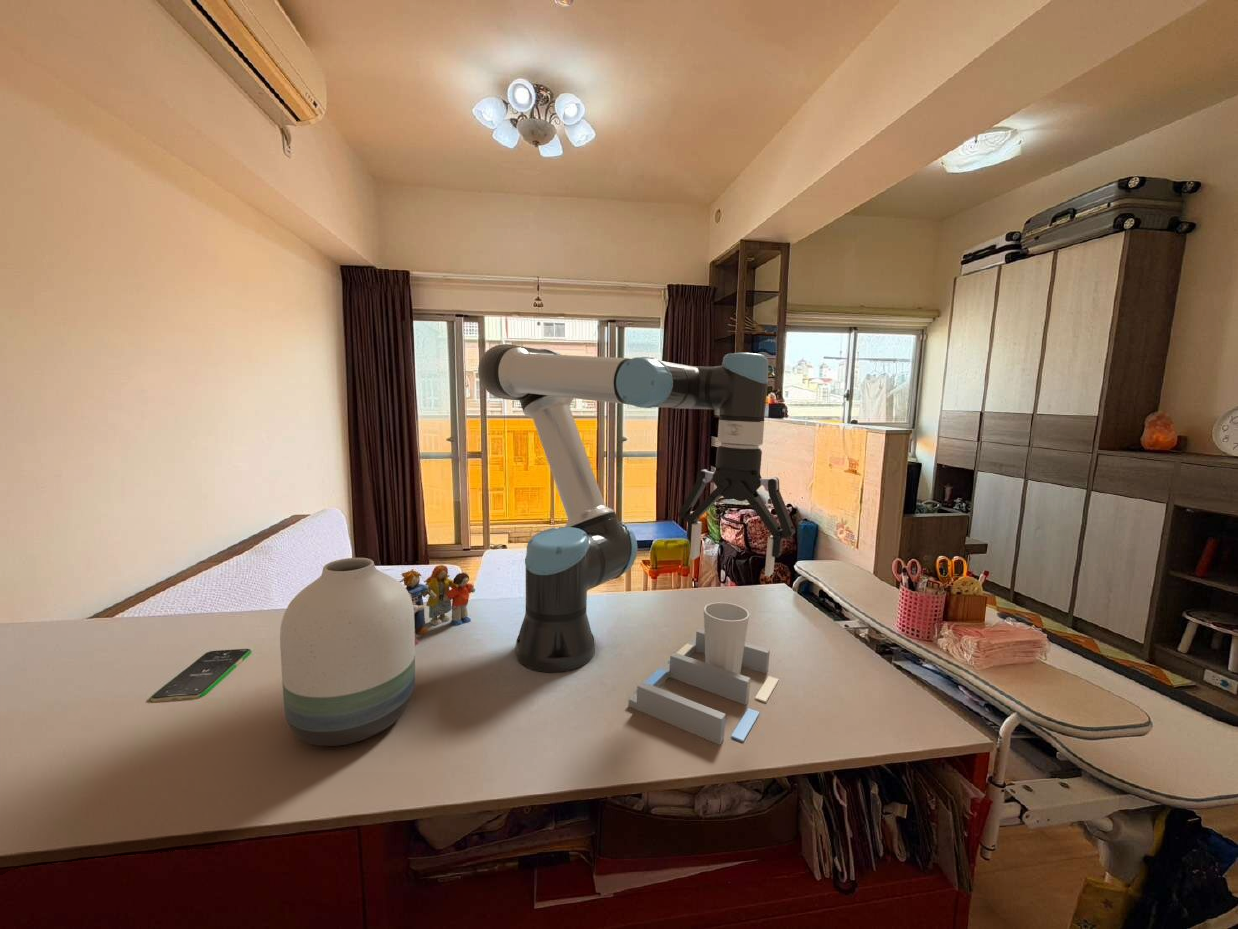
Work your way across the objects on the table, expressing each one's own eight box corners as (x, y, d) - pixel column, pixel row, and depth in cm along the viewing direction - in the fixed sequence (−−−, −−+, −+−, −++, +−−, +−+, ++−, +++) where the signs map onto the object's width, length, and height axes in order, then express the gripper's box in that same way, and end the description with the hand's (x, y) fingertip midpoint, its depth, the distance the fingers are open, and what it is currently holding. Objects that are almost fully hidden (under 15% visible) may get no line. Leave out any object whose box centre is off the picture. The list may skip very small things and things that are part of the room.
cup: (746, 690, 83) (750, 623, 82) (699, 683, 85) (703, 618, 83) (743, 666, 91) (747, 605, 89) (700, 660, 92) (704, 600, 91)
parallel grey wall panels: (628, 706, 77) (629, 682, 77) (691, 645, 98) (692, 626, 97) (737, 752, 68) (739, 726, 67) (782, 674, 88) (783, 653, 88)
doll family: (391, 657, 90) (389, 589, 88) (362, 643, 95) (360, 578, 93) (479, 617, 107) (479, 560, 106) (451, 606, 112) (450, 552, 111)
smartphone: (145, 699, 74) (207, 650, 89) (145, 705, 74) (207, 655, 89) (201, 695, 76) (253, 647, 90) (202, 700, 76) (254, 652, 90)
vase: (325, 781, 60) (317, 597, 57) (262, 729, 69) (253, 567, 66) (439, 711, 75) (437, 560, 72) (375, 675, 83) (371, 540, 80)
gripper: (664, 441, 86) (657, 556, 89) (811, 454, 73) (798, 589, 75) (682, 439, 92) (675, 546, 95) (821, 451, 79) (808, 575, 82)
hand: (730, 565), depth 85 cm, fingers open, 13 cm apart
